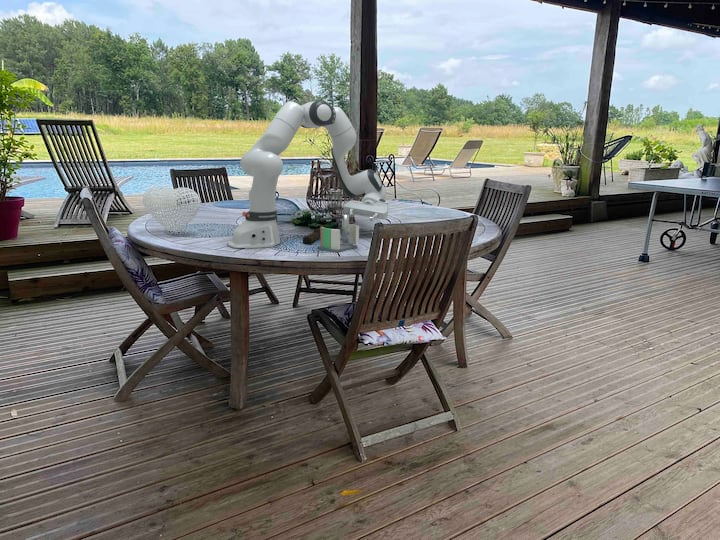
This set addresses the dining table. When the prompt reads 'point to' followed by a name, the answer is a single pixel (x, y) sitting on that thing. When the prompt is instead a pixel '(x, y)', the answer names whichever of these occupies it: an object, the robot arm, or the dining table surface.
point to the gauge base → (333, 241)
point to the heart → (175, 192)
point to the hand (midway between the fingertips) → (361, 217)
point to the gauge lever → (347, 229)
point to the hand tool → (312, 237)
